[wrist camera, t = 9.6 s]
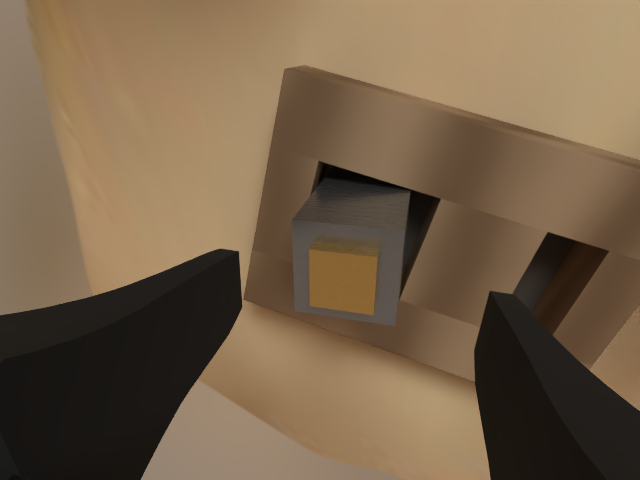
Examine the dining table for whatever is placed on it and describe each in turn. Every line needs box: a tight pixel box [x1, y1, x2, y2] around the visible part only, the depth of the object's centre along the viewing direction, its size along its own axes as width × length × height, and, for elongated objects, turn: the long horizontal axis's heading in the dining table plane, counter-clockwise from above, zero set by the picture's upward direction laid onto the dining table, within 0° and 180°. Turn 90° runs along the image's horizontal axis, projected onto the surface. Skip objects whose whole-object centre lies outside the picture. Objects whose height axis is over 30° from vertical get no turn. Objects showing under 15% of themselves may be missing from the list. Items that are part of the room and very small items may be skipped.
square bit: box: [292, 167, 411, 326], centre depth 18 cm, size 4×4×8 cm
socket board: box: [244, 65, 640, 382], centre depth 20 cm, size 17×12×3 cm
